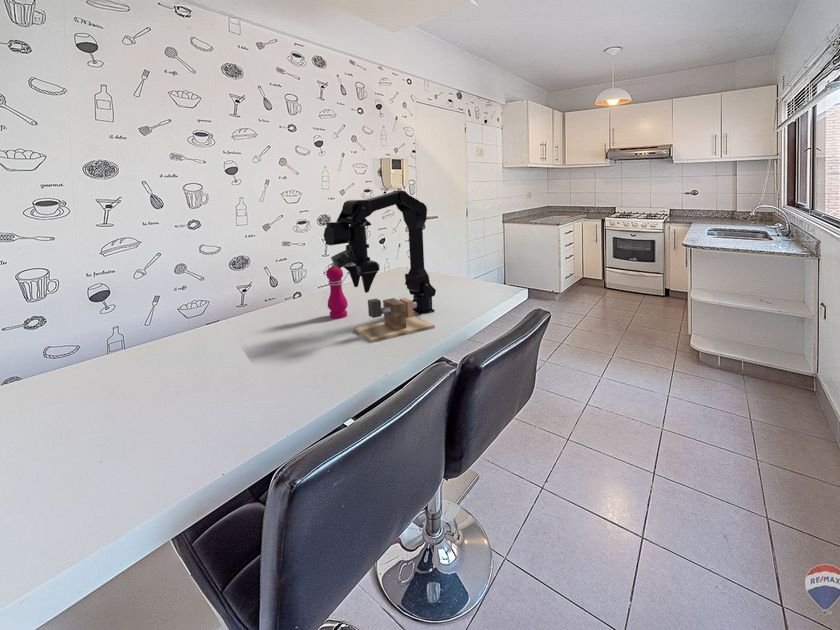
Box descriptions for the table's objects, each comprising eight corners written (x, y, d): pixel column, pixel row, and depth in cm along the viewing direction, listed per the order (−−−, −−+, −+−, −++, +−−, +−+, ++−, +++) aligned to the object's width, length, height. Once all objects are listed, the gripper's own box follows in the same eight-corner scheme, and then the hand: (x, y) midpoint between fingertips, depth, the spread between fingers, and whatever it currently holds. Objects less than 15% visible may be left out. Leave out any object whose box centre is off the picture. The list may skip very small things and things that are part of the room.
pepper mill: (344, 319, 161) (339, 264, 155) (325, 318, 163) (320, 264, 157) (351, 313, 168) (346, 260, 162) (333, 313, 169) (328, 260, 164)
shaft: (413, 306, 152) (412, 292, 151) (418, 309, 149) (417, 293, 148) (368, 315, 144) (367, 300, 143) (373, 318, 141) (372, 302, 140)
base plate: (413, 317, 160) (413, 315, 159) (434, 327, 148) (434, 324, 148) (353, 330, 149) (353, 327, 148) (371, 342, 137) (371, 339, 137)
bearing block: (395, 321, 153) (393, 298, 150) (406, 327, 146) (405, 303, 143) (384, 324, 151) (383, 300, 148) (395, 330, 144) (394, 305, 142)
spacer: (405, 313, 152) (404, 297, 151) (413, 316, 148) (412, 301, 146) (400, 314, 151) (399, 298, 150) (408, 317, 147) (407, 302, 145)
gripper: (323, 241, 145) (328, 288, 150) (343, 247, 129) (347, 299, 134) (355, 237, 150) (359, 283, 155) (378, 243, 134) (381, 293, 139)
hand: (361, 289), depth 145 cm, fingers open, 9 cm apart
